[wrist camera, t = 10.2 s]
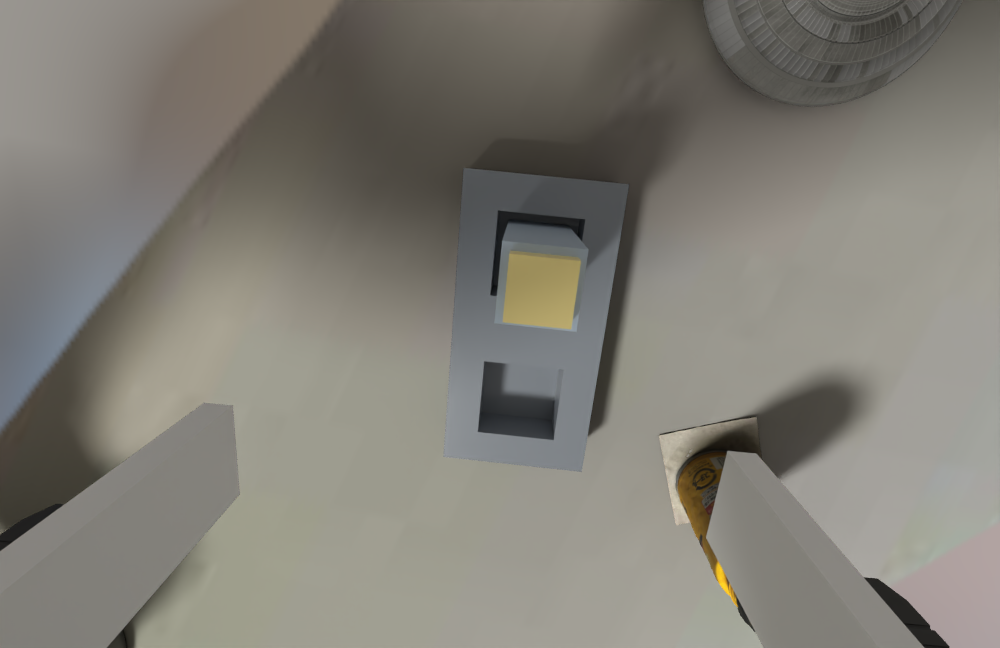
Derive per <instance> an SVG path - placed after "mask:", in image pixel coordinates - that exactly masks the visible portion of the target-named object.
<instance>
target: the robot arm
mask: <svg viewBox="0 0 1000 648" xmlns="http://www.w3.org/2000/svg"><path fill="white" fill-rule="evenodd" d="M239 495H240V491H239V478H238V465H237V453H236V440H235V427H234V415H233V405H223V404H212V403H203V404H202V405H200V406H199V407H198V408H196V409H195V410H193V411H192V412H191V413H189V414H188V415H187V416H185V417H184V418H182V419H181V420H180V421H178V422H177V423H176V424H174V425H173V426H171V427H170V428H169V429H167V430H166V431H165V432H163V433H162V434H160V435H159V436H158V437H156V438H155V439H154V440H152V441H151V442H150V443H148V444H147V445H145V446H144V447H143V448H141V449H140V450H139V451H137V452H136V453H134V454H133V455H132V456H130V457H129V458H128V459H126V460H125V461H123V462H122V463H121V464H119V465H118V466H117V467H115V468H114V469H112V470H111V471H110V472H108V473H107V474H106V475H104V476H103V477H101V478H100V479H99V480H97V481H96V482H95V483H93V484H92V485H90V486H89V487H88V488H86V489H85V490H84V491H82V492H81V493H79V494H78V495H77V496H75V497H74V498H73V499H71V500H70V501H68V502H67V503H66V504H64V505H62V504H55V505H53V506H51V507H49V508H46V509H44V510H42V511H40V512H38V513H36V514H34V515H31V516H29V517H27V518H25V519H23V520H21V521H20V522H18V523H17V524H15V525H14V526H13V527H11V528H10V529H8V530H7V531H5V532H4V533H3V534H1V535H0V648H126V642H125V637H124V634H123V631H122V629H123V628H124V627H125V626H126V625H127V624H128V623H129V621H130V620H131V619H132V618H133V617H134V616H135V615H136V613H137V612H138V611H139V610H140V609H141V608H142V606H143V605H144V604H145V603H146V602H147V601H148V600H149V598H150V597H151V596H152V595H153V594H154V593H155V591H156V590H157V589H158V588H159V587H160V586H161V585H162V583H163V582H164V581H165V580H166V579H167V578H168V576H169V575H170V574H171V573H172V572H173V571H174V570H175V568H176V567H177V566H178V565H179V564H180V563H181V561H182V560H183V559H184V558H185V557H186V556H187V555H188V553H189V552H190V551H191V550H192V549H193V548H194V546H195V545H196V544H197V543H198V542H199V541H200V540H201V538H202V537H203V536H204V535H205V534H206V533H207V532H208V530H209V529H210V528H211V527H212V526H213V525H214V523H215V522H216V521H217V520H218V519H219V518H220V517H221V515H222V514H223V513H224V512H225V511H226V510H227V508H228V507H229V506H230V505H231V504H232V503H233V502H234V500H235V499H236V498H237V497H238V496H239ZM706 539H707V540H708V542H709V544H710V546H711V548H712V550H713V552H714V554H715V556H716V558H717V560H718V561H719V563H720V565H721V567H722V569H723V571H724V573H725V575H726V577H727V579H728V581H729V582H730V584H731V586H732V588H733V590H734V592H735V594H736V596H737V598H738V600H739V602H740V603H741V605H742V607H743V609H744V611H745V613H746V615H747V617H748V619H749V621H750V623H751V624H752V626H753V628H754V630H755V632H756V634H757V636H758V638H759V640H760V642H761V644H762V645H763V647H764V648H949V646H948V645H947V644H946V642H945V641H944V640H943V639H942V638H941V637H940V636H939V635H938V634H937V633H936V631H933V630H931V629H930V625H929V624H928V623H927V622H926V621H925V620H924V619H923V617H922V616H921V615H920V614H919V613H918V612H917V611H916V610H915V609H914V608H913V607H912V606H911V604H910V603H909V602H908V601H907V600H906V599H904V598H903V597H902V596H900V595H899V594H898V593H896V592H895V591H893V590H892V589H891V588H889V587H888V586H887V585H885V584H884V583H883V582H881V581H880V580H879V579H875V578H864V577H863V576H862V575H861V574H860V573H859V572H858V570H857V569H856V568H855V567H854V566H853V565H852V563H851V562H850V561H849V560H848V559H847V558H846V557H845V555H844V554H843V553H842V552H841V551H840V550H839V548H838V547H837V546H836V545H835V544H834V543H833V541H832V540H831V539H830V538H829V537H828V536H827V535H826V533H825V532H824V531H823V530H822V529H821V528H820V526H819V525H818V524H817V523H816V522H815V521H814V519H813V518H812V517H811V516H810V515H809V514H808V513H807V511H806V510H805V509H804V508H803V507H802V506H801V504H800V503H799V502H798V501H797V500H796V499H795V497H794V496H793V495H792V494H791V493H790V492H789V491H788V489H787V488H786V487H785V486H784V485H783V484H782V482H781V481H780V480H779V479H778V478H777V477H776V476H775V474H774V473H773V472H772V471H771V470H770V469H769V467H768V466H767V465H766V464H765V463H764V462H763V460H762V459H761V458H760V457H759V456H758V455H757V454H756V453H745V452H735V451H727V455H726V459H725V463H724V467H723V471H722V475H721V479H720V483H719V487H718V491H717V495H716V499H715V503H714V507H713V511H712V515H711V519H710V523H709V527H708V531H707V535H706Z"/></svg>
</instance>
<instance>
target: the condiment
mask: <svg viewBox="0 0 1000 648" xmlns="http://www.w3.org/2000/svg"><path fill="white" fill-rule="evenodd" d="M659 439H660V444H661V450H662V455H663V460H664V465H665V470H666V476H667V481H668V487H669V492H670V497H671V502H672V508H673V513H674V518H675V522H676V525H680V524H685V523H691V525H692V528H693V530H694V532H695V534H696V537H697V538H698V540H699V542H700V545H701V547H702V548H703V550H704V552H705V555H706V557H707V559H708V561H709V563H710V566H711V569H712V570H713V573H714V575H715V577H716V579H717V581H718V582H719V584H720V585H721V587H722V588H723V589H724V590H725V592H726V593H727V594H728V595H730V596H731V599H732V601H733V602H734V604H735V605H736V606H737V607H738V610H739V613H740V615H741V617H742V618H743V619H744V621H745V622H746V623H747V624H748V625H749V626H750V627H751V628H752V629H753V631H754V632H755V630H754V628H753V626H752V624H751V623H750V621H749V619H748V617H747V615H746V613H745V611H744V609H743V607H742V605H741V603H740V602H739V600H738V598H737V596H736V594H735V592H734V590H733V588H732V586H731V584H730V582H729V581H728V579H727V577H726V575H725V573H724V571H723V569H722V567H721V565H720V563H719V561H718V560H717V558H716V556H715V554H714V552H713V550H712V548H711V546H710V544H709V542H708V540H707V539H706V535H707V531H708V527H709V523H710V519H711V515H712V511H713V507H714V503H715V499H716V495H717V491H718V487H719V483H720V479H721V475H722V471H723V467H724V463H725V459H726V455H727V451H735V452H745V453H756V454H757V455H758V456H759V457H760V458H761V459H762V456H761V451H760V443H759V435H758V425H757V417H753V418H748V419H740V420H734V421H729V422H724V423H717V424H712V425H707V426H702V427H696V428H693V429H689V430H684V431H677V432H674V433H669V434H665V435H659ZM691 449H692V452H691V453H689V451H690V450H691ZM688 454H689V455H690V456H689V457H686V456H687V455H688Z"/></svg>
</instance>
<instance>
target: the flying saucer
mask: <svg viewBox="0 0 1000 648" xmlns="http://www.w3.org/2000/svg"><path fill="white" fill-rule="evenodd" d="M702 1H703V8H704V13H705V18H706V22H707V25H708V29H709V32H710V34H711V37H712V39H713V42H714V44H715V46H716V48H717V50H718V52H719V53H720V55H721V57H722V58H723V60H724V61H725V63H726V64H727V65H728V66H729V68H730V69H731V70H732V71H733V72H734V73H735V74H736V76H737V77H739V78H740V79H741V80H742V81H743V82H744V83H745V84H747V85H748V86H749V87H751V88H752V89H754V90H755V91H757V92H759V93H760V94H762V95H764V96H766V97H768V98H771V99H774V100H776V101H779V102H783V103H787V104H791V105H798V106H827V105H834V104H839V103H844V102H847V101H851V100H854V99H857V98H860V97H862V96H865V95H867V94H869V93H871V92H874V91H876V90H878V89H879V88H881V87H883V86H885V85H886V84H888V83H890V82H891V81H893V80H894V79H896V78H897V77H899V76H900V75H901V74H903V73H904V72H905V71H906V70H908V69H909V68H910V67H911V66H912V65H914V64H915V63H916V62H917V61H918V60H919V59H920V58H921V57H922V56H923V55H924V54H925V53H926V52H927V51H928V50H929V49H930V47H931V46H932V45H933V44H934V43H935V42H936V40H937V39H938V38H939V36H940V35H941V34H942V32H943V31H944V30H945V28H946V27H947V26H948V24H949V23H950V21H951V20H952V18H953V16H954V15H955V13H956V12H957V10H958V8H959V6H960V4H961V2H962V0H702Z"/></svg>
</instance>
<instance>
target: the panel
mask: <svg viewBox="0 0 1000 648" xmlns="http://www.w3.org/2000/svg"><path fill="white" fill-rule="evenodd" d="M628 189H629V184H623V183H613V182H603V181H593V180H583V179H573V178H563V177H553V176H543V175H533V174H522V173H512V172H502V171H492V170H482V169H472V168H464V169H463V183H462V198H461V212H460V227H459V241H458V256H457V270H456V284H455V299H454V313H453V328H452V342H451V357H450V371H449V386H448V400H447V415H446V429H445V444H444V457H450V458H459V459H469V460H478V461H487V462H496V463H505V464H515V465H524V466H533V467H542V468H551V469H561V470H570V471H579V472H582V466H583V460H584V454H585V448H586V442H587V436H588V430H589V424H590V418H591V412H592V406H593V400H594V394H595V388H596V382H597V376H598V370H599V364H600V358H601V352H602V346H603V340H604V334H605V328H606V322H607V316H608V309H609V303H610V297H611V291H612V285H613V279H614V273H615V267H616V261H617V255H618V249H619V243H620V237H621V231H622V225H623V219H624V213H625V207H626V201H627V195H628ZM509 219H515V220H525V221H535V222H545V223H555V224H565V225H569V227H570V228H571V229H572V230H573V231H574V233H575V234H576V235H577V236H578V237H579V239H580V240H581V241H582V242H583V243H584V245H585V246H586V247H587V248H588V249H589V250H588V257H587V264H586V271H585V278H584V284H583V291H582V298H581V305H580V311H579V318H578V325H577V332H573V331H564V330H554V329H545V328H535V327H525V326H516V325H506V324H497V323H494V321H495V311H496V300H497V290H498V279H499V269H500V258H501V248H502V240H503V237H504V233H505V230H506V227H507V224H508V221H509Z"/></svg>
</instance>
